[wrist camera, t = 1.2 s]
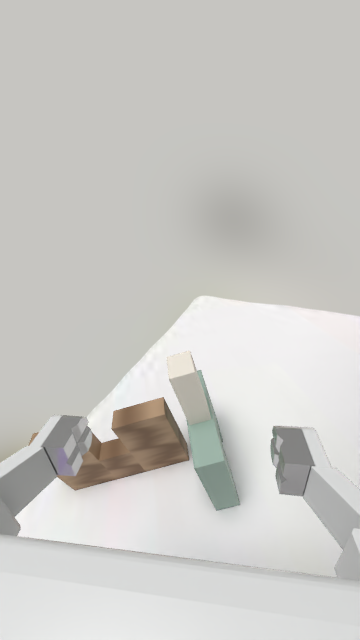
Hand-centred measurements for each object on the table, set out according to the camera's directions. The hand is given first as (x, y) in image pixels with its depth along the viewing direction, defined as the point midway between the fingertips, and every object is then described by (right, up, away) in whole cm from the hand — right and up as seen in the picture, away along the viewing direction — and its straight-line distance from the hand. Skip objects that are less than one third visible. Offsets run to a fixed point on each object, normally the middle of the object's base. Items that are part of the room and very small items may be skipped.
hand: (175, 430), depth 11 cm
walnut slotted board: (-7, -18, +27) cm, 33 cm away
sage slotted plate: (+5, -15, +25) cm, 29 cm away
